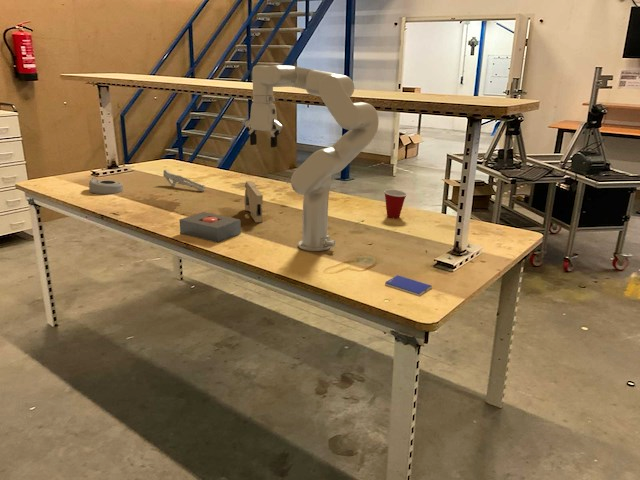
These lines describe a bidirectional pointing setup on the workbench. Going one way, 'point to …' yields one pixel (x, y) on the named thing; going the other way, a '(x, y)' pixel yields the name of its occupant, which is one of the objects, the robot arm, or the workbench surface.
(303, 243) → the robot arm
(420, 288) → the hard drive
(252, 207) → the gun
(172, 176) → the gun
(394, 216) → the plastic cup
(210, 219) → the button
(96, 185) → the turbocharger housing
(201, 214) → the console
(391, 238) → the workbench surface
